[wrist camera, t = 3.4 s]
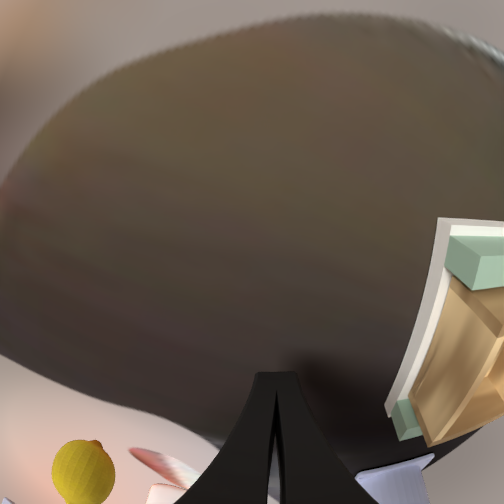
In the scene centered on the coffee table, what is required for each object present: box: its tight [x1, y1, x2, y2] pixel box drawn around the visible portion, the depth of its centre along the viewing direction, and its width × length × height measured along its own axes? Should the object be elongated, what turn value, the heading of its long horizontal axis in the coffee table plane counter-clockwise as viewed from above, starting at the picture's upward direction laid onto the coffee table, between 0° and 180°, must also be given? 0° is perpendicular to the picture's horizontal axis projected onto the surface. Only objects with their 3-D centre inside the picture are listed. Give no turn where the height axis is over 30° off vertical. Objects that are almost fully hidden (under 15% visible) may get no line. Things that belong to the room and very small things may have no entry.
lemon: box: [52, 440, 115, 504], centre depth 14 cm, size 6×6×8 cm
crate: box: [408, 275, 504, 447], centre depth 8 cm, size 7×6×4 cm
